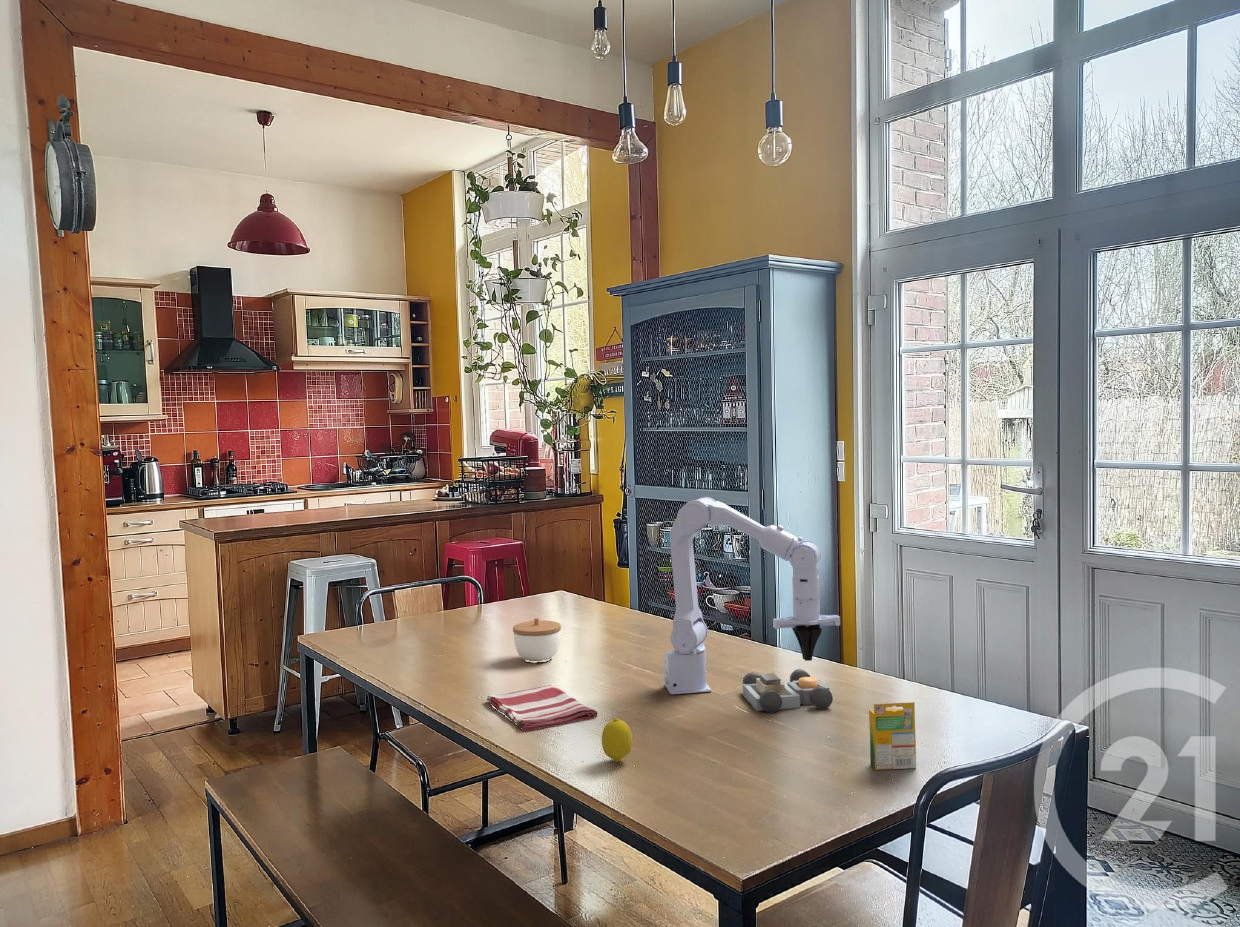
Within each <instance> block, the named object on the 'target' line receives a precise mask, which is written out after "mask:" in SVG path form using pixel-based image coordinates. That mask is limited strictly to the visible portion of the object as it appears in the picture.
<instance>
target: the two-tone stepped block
mask: <svg viewBox="0 0 1240 927" xmlns="http://www.w3.org/2000/svg"><path fill="white" fill-rule="evenodd" d="M759 676H760V678H756V691H757V694H758V695H759V696H761V694H762V693H763V692H764V691H766V690H774V691H776V692H777V693H778V694H779V695H780V696H781V695H785V685H784V684H783V683H782V682H781V681H782V680H781V679H782V678H780V677H779V676H778V675H776V674H775V673H774V672H771V673H759Z"/></svg>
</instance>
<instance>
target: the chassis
mask: <svg viewBox="0 0 1240 927" xmlns="http://www.w3.org/2000/svg"><path fill="white" fill-rule="evenodd" d="M802 677H811V675H810V674H809V673H808V672H807V671H805V669H801V668H798V669H794V670H793V671H792V672H791V673H790V676H789V681H787V682H785V681H784V680H783V681H782V680H781V682H782V683H783V684H784V685H785V695H781V696H780V695H779V694H778V693H777V692H776V691H774V690H766V691H764V692H763V693H762V694H761V696H759V695H758V694H757V691H756V678H760V674H758V673H756V672H753V671H751V672H748V673H746V674H745V675H744V676H743V679H742V695H743V696H744V698H745V699H746V700H747V702H748V703H750V705H751V706H752V707H753V708H754V709H755V710H756V711H757V712H759V711H760V712H761V711H765V712H766V713H767V714H774V713H777V712H778V711H780V710H786V709H798V708H799V709H801V705H813V706H815V708H817V709H819V710H825V709H828V708H829V707H831V705H832V703H833V700H834V697H833V693H832V692H831V690H830V687H829V686H828V685H826V683H824V682H823V681H822V680H820V679H817V684H818V686H817V687H815V688H805V689H801V688H800V687H799V678H802Z"/></svg>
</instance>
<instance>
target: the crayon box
mask: <svg viewBox="0 0 1240 927" xmlns="http://www.w3.org/2000/svg"><path fill="white" fill-rule="evenodd" d="M893 707H896V708H893ZM899 707H900V708H899ZM887 708H890V709H887ZM915 711H916V710H915V702H913V701H911V702H894V703H873V709H869V710H868V718H869V752H870V753H869V757H870V765H871V767H872V768H873V769H874V770H875V771H881V770H882V771H883V770H899V769H900V770H902V769H914V770H915V769H917V747H916V717H915V715H916V714H915Z"/></svg>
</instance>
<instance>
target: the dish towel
mask: <svg viewBox="0 0 1240 927" xmlns="http://www.w3.org/2000/svg"><path fill="white" fill-rule="evenodd" d="M486 701H487V702H488V701H489V702H490V703H491V704H492V705H493V706H494V707H495V708H496V709H497V710H499V711H500V712H502V713H504V714H505V715H506V716H507V717H508V718H509V719H510V720H512V721H513V722H514V723H516V724H517V725H518V726H519V727H520V728H522V730H523V731H522V730H521V731H522V732H524V731H526V732H529V731H528V730H531V731H534V730H533V729H536V730H540V729H539V728H541V729H546V728H550V727H549V726H552V727H556V726H555V725H557V726H562V725H565V723H567V724H569V723H575V722H580V721H585V720H586V721H587V720H592V719H594V718H597V716H598V711H597V710H595V709H593V708H591V707H589V706H586V705H585V704H582V703H581V702H579V701H578V700H577V699H576V698H574V697H573V696H571V695H569V694H568V693H567V692H565V691H563V690H562V689H560V688H558V687H554V686H553V685H551V684H550V685H549V684H548V685H544V686H538V687H533V688H530V689H523V690H518V691H514V692H509V693H504V694H503V693H502V694H490V695H489V694H488V695H487V698H486ZM489 702H488V703H489ZM490 703H489V704H490ZM500 712H499V713H500ZM509 719H508V720H509ZM510 720H509V721H510ZM512 721H511V722H512ZM574 721H575V722H574ZM513 722H512V723H513ZM514 723H513V724H514ZM518 726H517V727H518ZM519 727H518V728H519ZM545 727H546V728H545ZM520 728H519V729H520Z"/></svg>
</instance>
